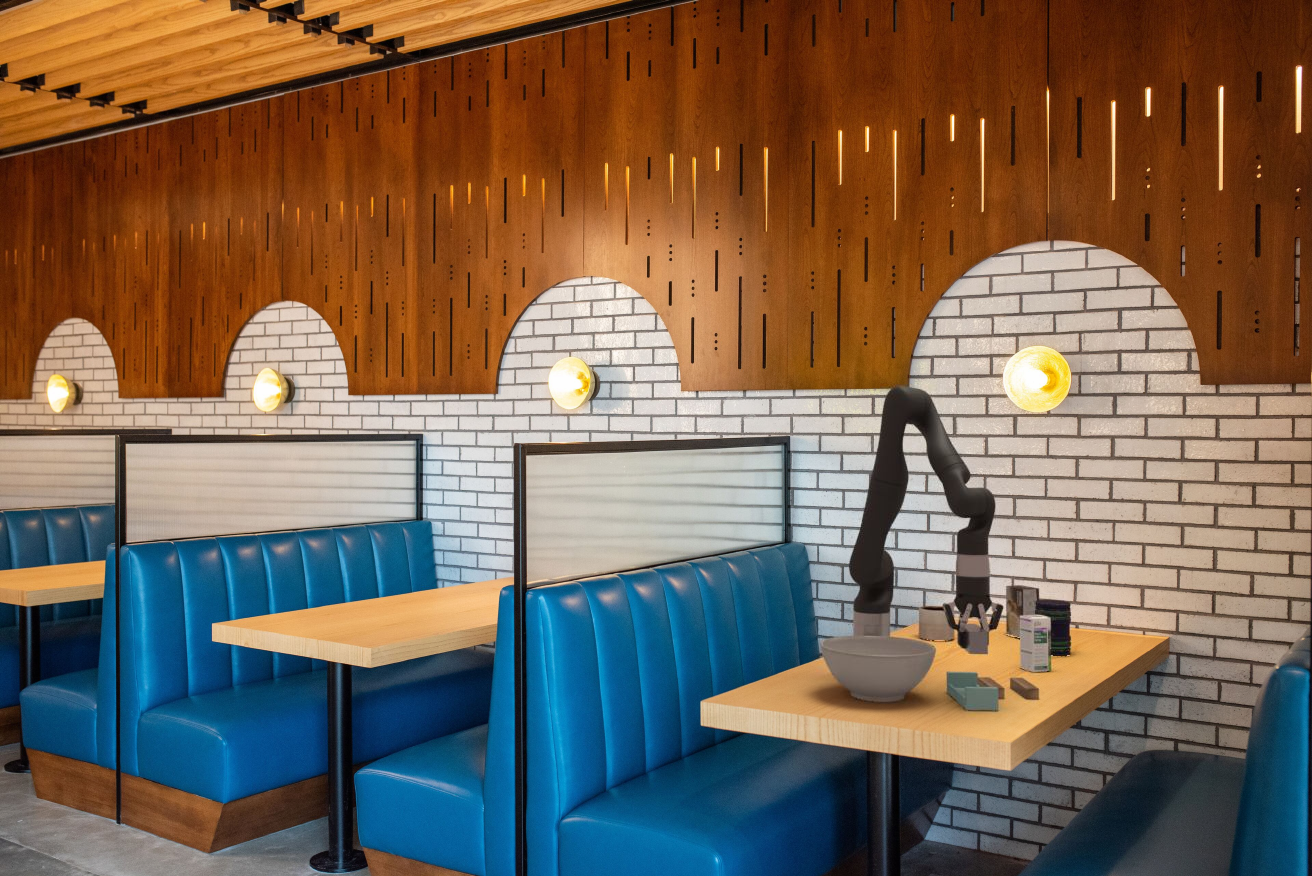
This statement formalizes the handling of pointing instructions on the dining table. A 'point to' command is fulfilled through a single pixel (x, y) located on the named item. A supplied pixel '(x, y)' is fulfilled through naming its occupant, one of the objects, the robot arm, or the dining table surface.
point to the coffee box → (1019, 606)
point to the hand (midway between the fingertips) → (972, 647)
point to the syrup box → (1035, 643)
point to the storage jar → (1057, 624)
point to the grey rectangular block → (976, 639)
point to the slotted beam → (1012, 687)
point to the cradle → (971, 691)
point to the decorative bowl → (878, 665)
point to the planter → (934, 624)
